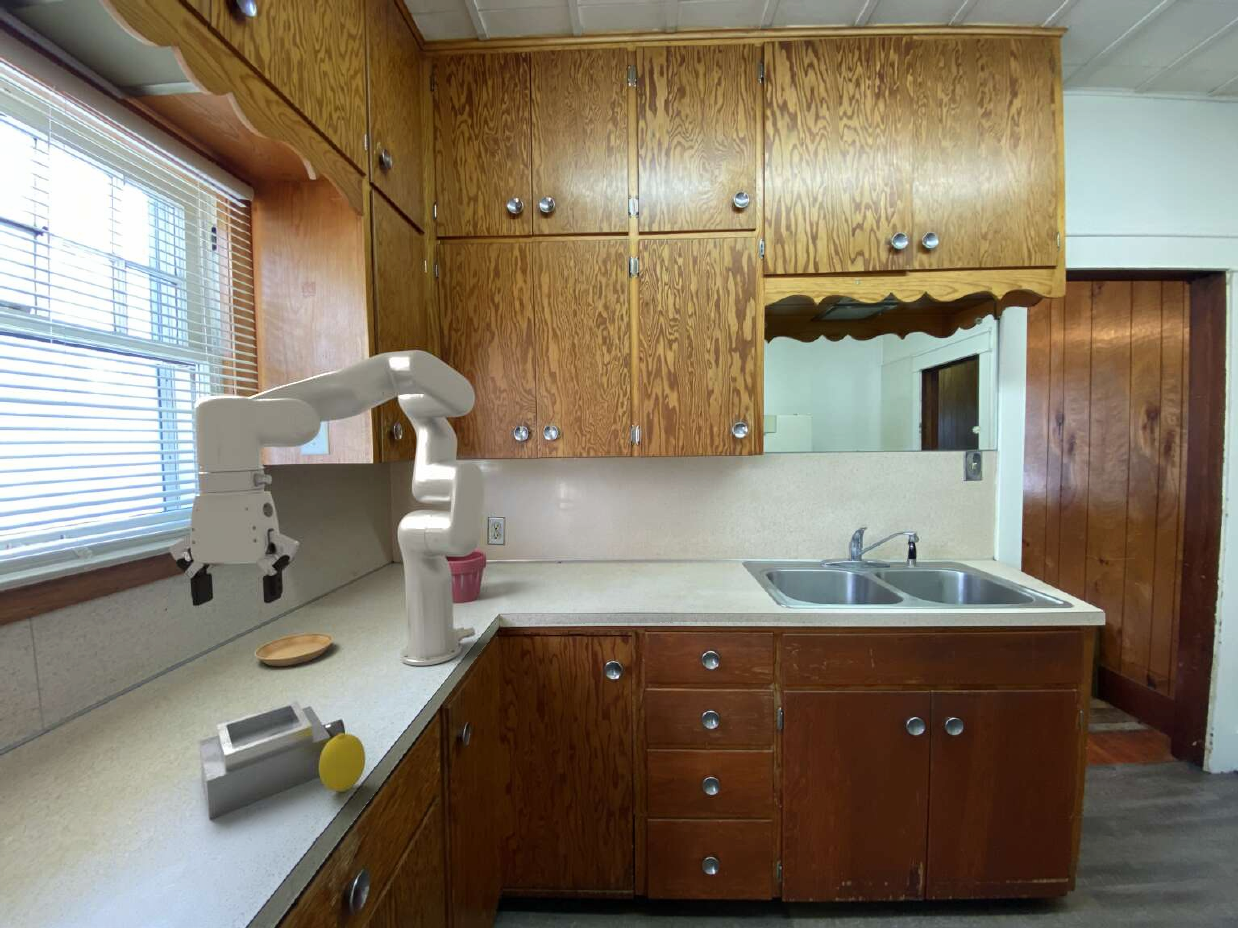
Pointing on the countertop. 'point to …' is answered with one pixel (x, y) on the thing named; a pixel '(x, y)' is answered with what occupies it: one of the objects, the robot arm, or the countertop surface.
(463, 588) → the plant pot
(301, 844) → the countertop surface
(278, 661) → the plant saucer
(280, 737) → the housing
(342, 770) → the lemon
